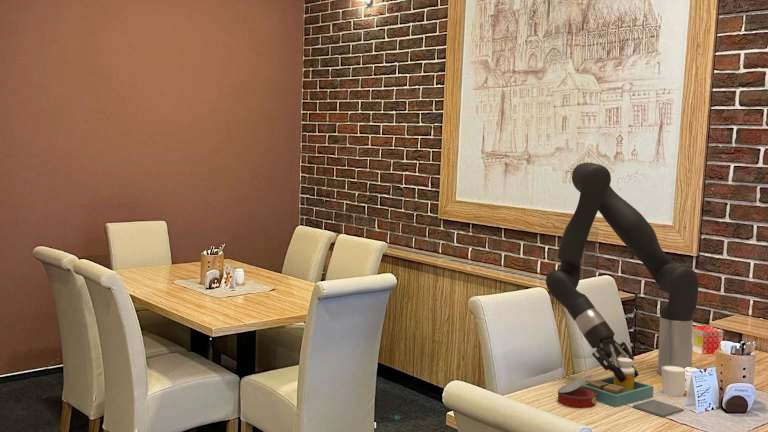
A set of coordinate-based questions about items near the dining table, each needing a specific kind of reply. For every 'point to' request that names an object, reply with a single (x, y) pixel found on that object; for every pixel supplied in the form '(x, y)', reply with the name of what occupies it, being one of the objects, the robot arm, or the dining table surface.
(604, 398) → the teal tray
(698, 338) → the red patterned cube
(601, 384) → the walnut block
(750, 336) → the dining table surface
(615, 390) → the walnut block
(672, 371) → the cream cylinder
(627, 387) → the supplement bottle
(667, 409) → the coaster
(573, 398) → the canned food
